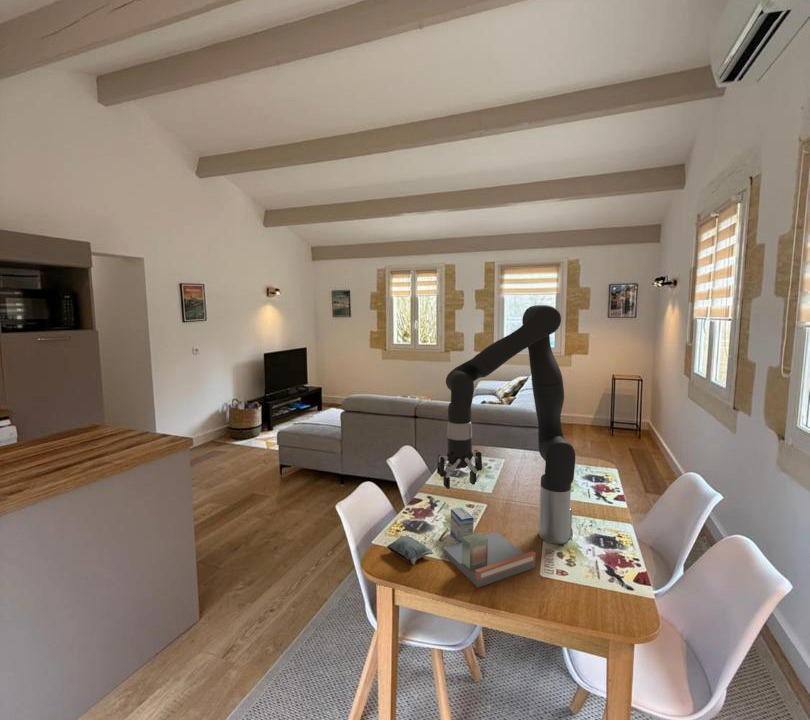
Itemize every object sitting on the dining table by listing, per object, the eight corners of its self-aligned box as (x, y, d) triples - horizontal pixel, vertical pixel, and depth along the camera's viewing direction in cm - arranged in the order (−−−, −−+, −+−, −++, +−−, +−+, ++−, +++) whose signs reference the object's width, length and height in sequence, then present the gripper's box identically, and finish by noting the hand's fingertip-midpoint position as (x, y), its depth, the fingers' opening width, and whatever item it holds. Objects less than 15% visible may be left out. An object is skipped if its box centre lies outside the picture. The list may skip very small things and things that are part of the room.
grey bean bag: (407, 542, 140) (407, 528, 139) (433, 558, 131) (433, 543, 130) (386, 553, 134) (385, 538, 133) (412, 570, 125) (411, 554, 125)
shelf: (496, 537, 142) (496, 525, 141) (535, 567, 126) (535, 553, 125) (443, 553, 133) (443, 540, 133) (478, 587, 117) (478, 572, 117)
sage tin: (479, 557, 127) (479, 532, 126) (487, 565, 124) (488, 539, 123) (461, 563, 125) (462, 537, 124) (470, 571, 121) (470, 544, 120)
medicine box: (450, 533, 145) (450, 508, 144) (461, 530, 147) (462, 506, 145) (461, 545, 138) (461, 519, 137) (473, 542, 139) (474, 517, 138)
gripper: (474, 429, 140) (474, 478, 142) (433, 434, 135) (434, 484, 137) (486, 436, 133) (486, 487, 135) (443, 441, 128) (443, 494, 130)
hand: (459, 485), depth 136 cm, fingers open, 8 cm apart
